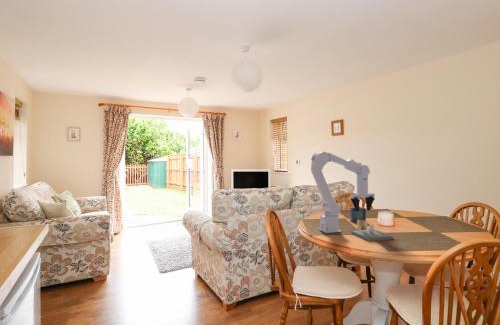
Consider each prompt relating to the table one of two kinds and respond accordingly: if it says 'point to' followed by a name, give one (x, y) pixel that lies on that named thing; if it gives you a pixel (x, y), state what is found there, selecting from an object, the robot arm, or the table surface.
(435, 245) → the table surface
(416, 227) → the table surface
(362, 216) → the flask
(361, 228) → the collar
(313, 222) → the table surface
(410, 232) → the table surface
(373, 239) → the post block
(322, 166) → the robot arm
